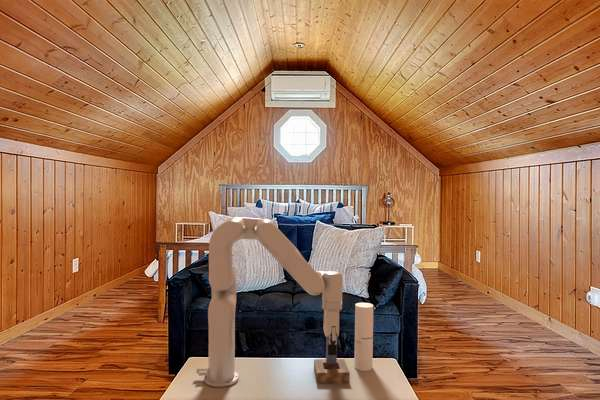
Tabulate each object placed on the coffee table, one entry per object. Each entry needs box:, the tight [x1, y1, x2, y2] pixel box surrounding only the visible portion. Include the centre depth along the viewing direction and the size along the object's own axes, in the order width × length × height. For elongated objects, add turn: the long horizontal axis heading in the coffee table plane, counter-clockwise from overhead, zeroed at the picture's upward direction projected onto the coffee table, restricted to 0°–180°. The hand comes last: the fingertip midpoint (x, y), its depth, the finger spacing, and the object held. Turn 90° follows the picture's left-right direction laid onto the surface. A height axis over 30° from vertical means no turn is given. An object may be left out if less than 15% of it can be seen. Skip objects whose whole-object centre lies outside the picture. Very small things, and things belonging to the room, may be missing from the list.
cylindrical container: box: [353, 302, 374, 372], centre depth 168 cm, size 7×7×25 cm
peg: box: [325, 335, 338, 364], centre depth 159 cm, size 4×4×12 cm
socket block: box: [313, 358, 351, 385], centre depth 159 cm, size 12×12×4 cm
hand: (331, 351), depth 159 cm, fingers closed on peg, 4 cm apart
